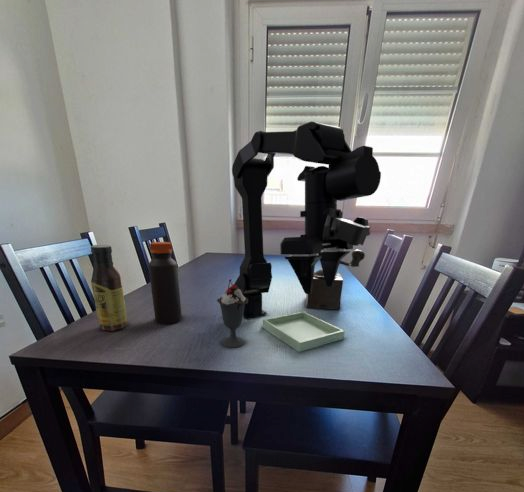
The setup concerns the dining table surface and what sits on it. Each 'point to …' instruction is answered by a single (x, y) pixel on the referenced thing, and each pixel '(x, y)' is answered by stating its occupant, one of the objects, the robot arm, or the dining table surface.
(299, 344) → the serving tray
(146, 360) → the dining table surface
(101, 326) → the sauce bottle
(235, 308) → the sundae
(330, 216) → the robot arm
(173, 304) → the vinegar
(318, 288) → the manual coffee grinder
